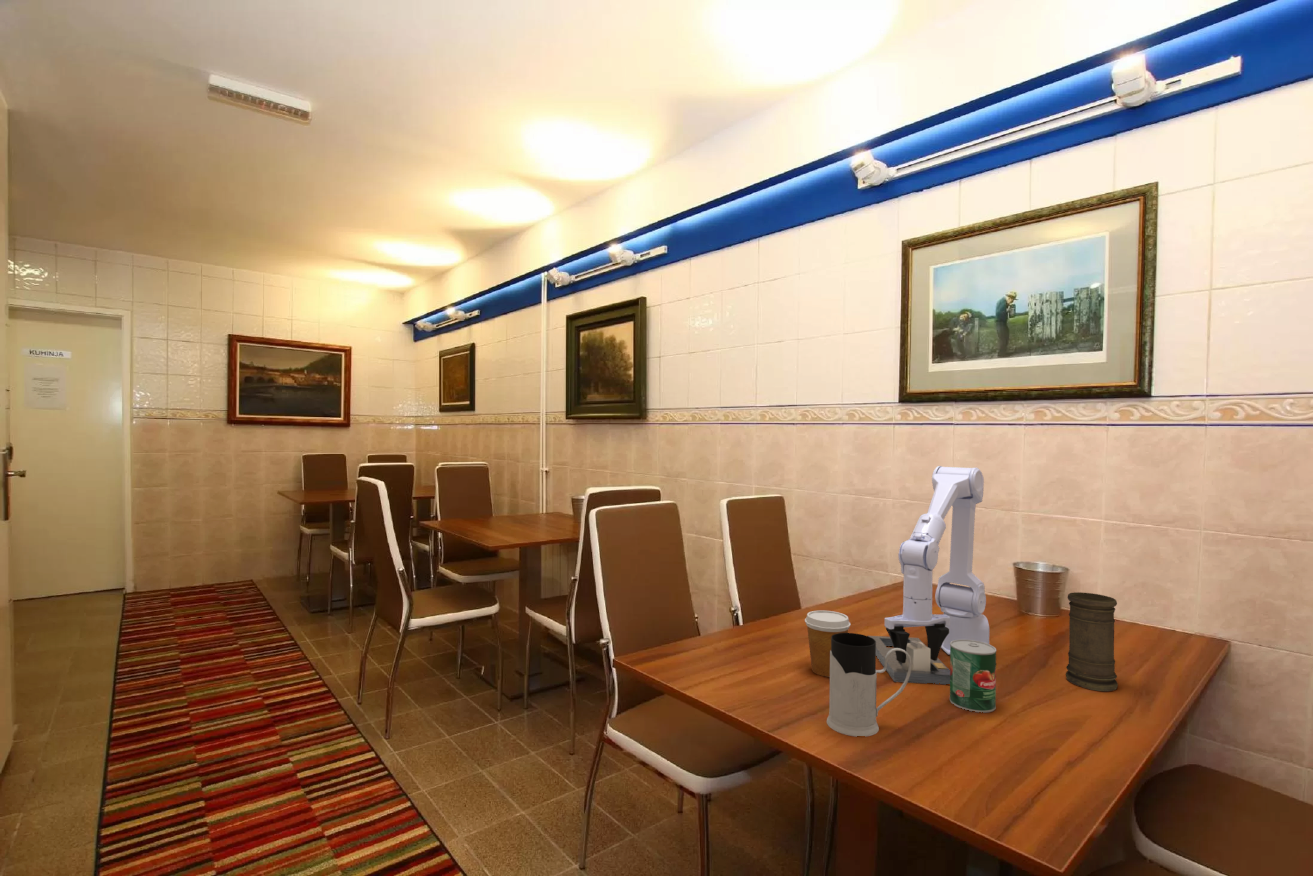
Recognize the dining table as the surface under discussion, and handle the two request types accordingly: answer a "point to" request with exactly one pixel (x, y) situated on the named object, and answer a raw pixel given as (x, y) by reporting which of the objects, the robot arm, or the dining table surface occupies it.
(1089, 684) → the container
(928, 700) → the dining table surface
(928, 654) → the plug
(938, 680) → the panel
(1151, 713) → the dining table surface
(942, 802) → the dining table surface
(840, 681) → the grey beer mug
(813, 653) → the disposable coffee cup
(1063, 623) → the dining table surface
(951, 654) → the canned tomato
